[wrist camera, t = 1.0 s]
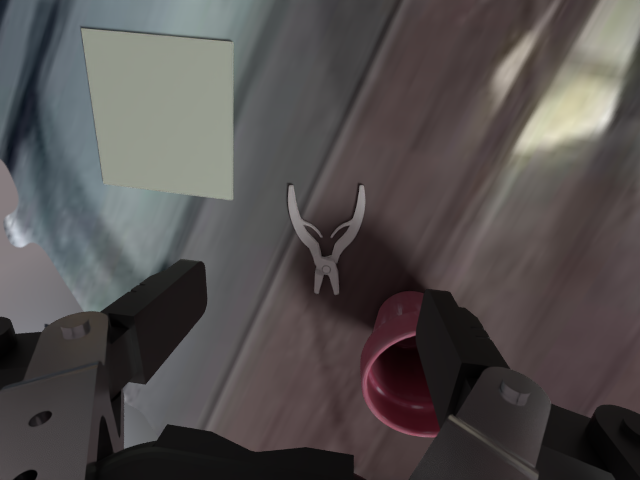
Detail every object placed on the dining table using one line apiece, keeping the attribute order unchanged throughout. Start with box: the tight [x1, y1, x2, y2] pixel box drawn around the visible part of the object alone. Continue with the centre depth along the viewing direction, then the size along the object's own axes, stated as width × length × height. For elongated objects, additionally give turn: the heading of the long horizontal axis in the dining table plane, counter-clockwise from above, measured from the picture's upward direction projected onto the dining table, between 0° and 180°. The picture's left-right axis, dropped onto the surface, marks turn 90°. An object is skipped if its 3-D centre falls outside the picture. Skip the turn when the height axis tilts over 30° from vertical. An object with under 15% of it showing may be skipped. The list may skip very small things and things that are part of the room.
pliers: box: [288, 185, 365, 295], centre depth 40 cm, size 10×2×15 cm
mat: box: [81, 28, 234, 200], centre depth 37 cm, size 18×18×1 cm
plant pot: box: [360, 291, 440, 437], centre depth 37 cm, size 14×14×13 cm
